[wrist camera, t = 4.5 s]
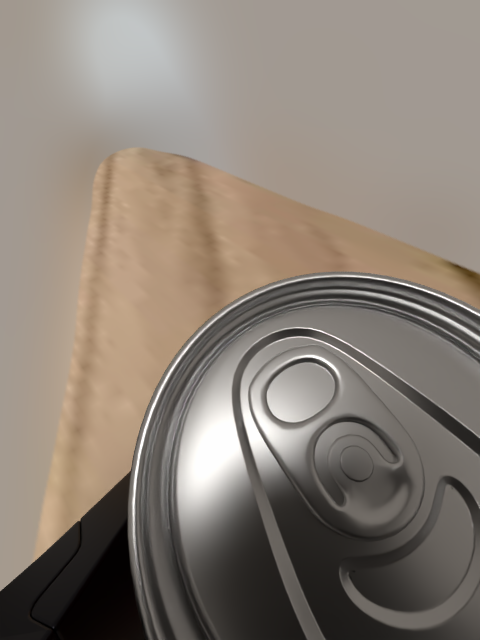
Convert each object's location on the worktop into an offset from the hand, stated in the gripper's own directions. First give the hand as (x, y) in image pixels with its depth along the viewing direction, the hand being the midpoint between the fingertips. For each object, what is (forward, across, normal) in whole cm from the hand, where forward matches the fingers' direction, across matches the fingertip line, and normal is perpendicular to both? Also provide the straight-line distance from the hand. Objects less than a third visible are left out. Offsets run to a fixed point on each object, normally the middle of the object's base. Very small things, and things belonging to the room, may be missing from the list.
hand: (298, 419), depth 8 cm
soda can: (+4, 0, +6) cm, 7 cm away
